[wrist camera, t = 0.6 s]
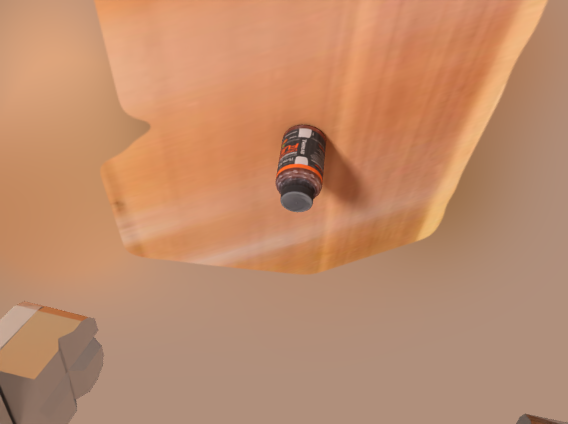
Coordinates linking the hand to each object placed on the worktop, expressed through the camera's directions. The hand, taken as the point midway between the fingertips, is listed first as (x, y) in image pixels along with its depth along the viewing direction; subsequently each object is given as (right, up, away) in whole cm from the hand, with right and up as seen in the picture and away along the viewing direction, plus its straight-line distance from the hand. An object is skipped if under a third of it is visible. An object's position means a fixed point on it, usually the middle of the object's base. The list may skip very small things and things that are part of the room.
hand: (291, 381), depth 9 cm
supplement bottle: (+3, +13, +58) cm, 60 cm away
